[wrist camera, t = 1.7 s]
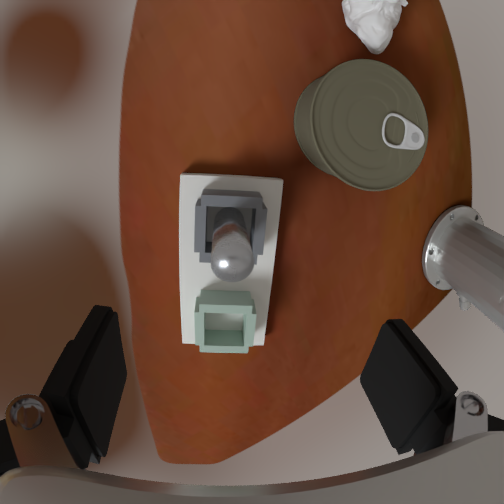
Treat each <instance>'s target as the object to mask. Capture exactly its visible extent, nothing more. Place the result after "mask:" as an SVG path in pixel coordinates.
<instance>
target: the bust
mask: <svg viewBox="0 0 504 504" xmlns="http://www.w3.org/2000/svg"><path fill="white" fill-rule="evenodd" d="M407 4H408V2H407V1H406V0H343V1H342V8H343V13H344V15H345V21H346V24H347V26H348V27H349V28H350V30H352V31H353V32H354V33H355V34H356V35H357V36H358V37H359V38H360V40H361V41H362V42H363V43H364V44H365V46H366V47H367V48H368V50H369V51H370V52H371V53H373V54H380V53H382V52H383V51H384V50H385V48H386V47H387V45H388V44H389V42H390V39H391V38H392V34H393V29H394V28H395V27H396V26H397V24H398V22H399V20H400V14H401V10H402V8H401V5H403V6H405V7H406V5H407Z"/></svg>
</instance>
